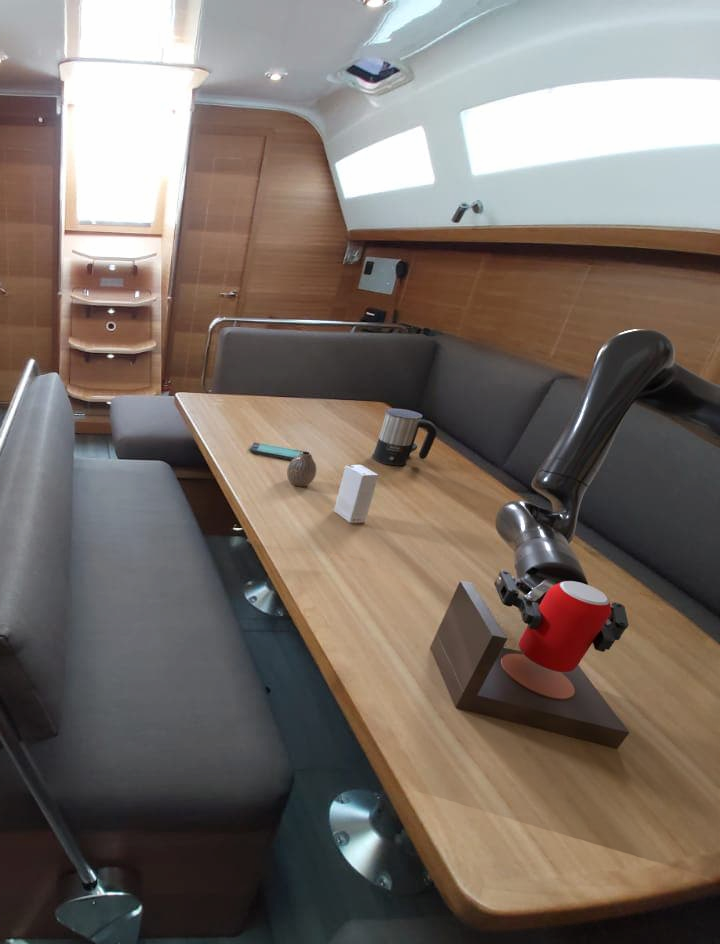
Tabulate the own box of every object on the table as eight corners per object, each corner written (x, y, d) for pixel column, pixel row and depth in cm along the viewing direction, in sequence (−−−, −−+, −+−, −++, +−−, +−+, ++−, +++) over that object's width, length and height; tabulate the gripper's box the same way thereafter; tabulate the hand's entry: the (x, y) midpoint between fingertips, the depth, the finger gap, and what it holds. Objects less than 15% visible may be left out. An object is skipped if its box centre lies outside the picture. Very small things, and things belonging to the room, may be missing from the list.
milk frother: (377, 464, 145) (392, 416, 139) (359, 445, 160) (373, 400, 153) (429, 469, 143) (448, 420, 137) (407, 449, 157) (423, 404, 151)
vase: (285, 486, 130) (292, 455, 126) (284, 476, 136) (291, 446, 132) (313, 491, 128) (322, 459, 124) (311, 480, 134) (319, 450, 130)
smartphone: (253, 441, 156) (304, 450, 150) (253, 445, 156) (304, 454, 150) (249, 449, 150) (303, 458, 144) (249, 453, 150) (302, 462, 144)
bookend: (567, 678, 74) (611, 609, 68) (617, 748, 63) (674, 674, 58) (429, 647, 78) (459, 580, 73) (455, 707, 68) (492, 635, 62)
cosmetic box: (365, 522, 114) (381, 475, 109) (348, 524, 113) (363, 476, 108) (348, 509, 119) (362, 463, 114) (331, 510, 118) (345, 464, 113)
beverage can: (580, 667, 68) (625, 598, 63) (560, 684, 65) (606, 613, 60) (527, 638, 73) (565, 571, 67) (506, 653, 70) (544, 584, 65)
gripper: (500, 535, 79) (511, 590, 66) (624, 567, 72) (663, 636, 59) (481, 573, 82) (488, 633, 69) (598, 608, 75) (629, 681, 62)
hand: (568, 634), depth 64 cm, fingers closed on beverage can, 6 cm apart
